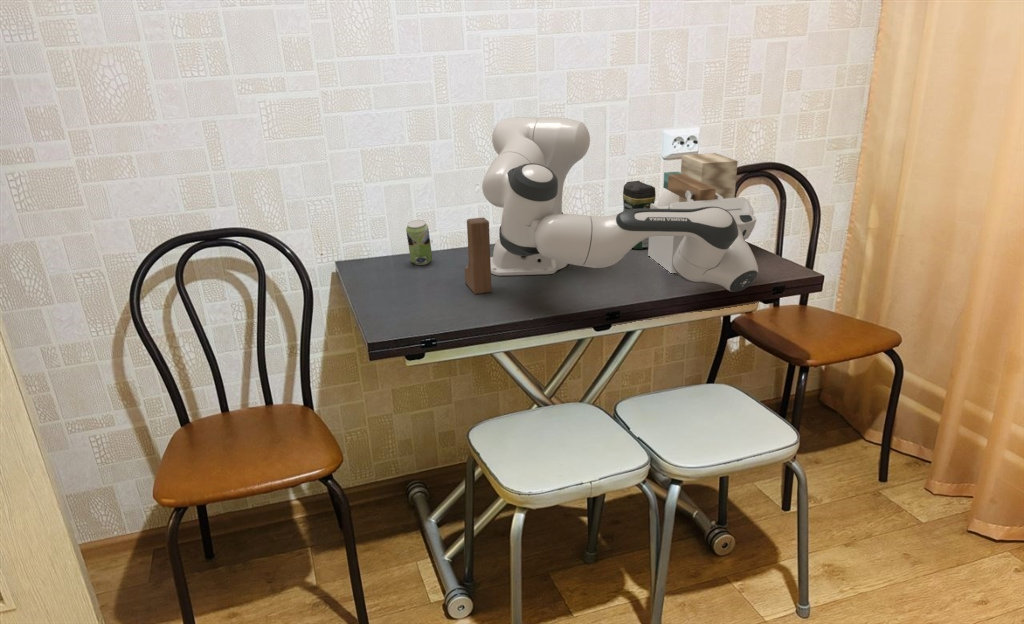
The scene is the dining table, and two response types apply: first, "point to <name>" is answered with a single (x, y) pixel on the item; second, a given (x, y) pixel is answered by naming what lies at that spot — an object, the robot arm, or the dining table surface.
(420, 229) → the beverage can
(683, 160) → the tall patterned box
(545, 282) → the dining table surface
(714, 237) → the robot arm
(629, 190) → the coffee jar
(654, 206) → the upright white box
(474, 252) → the wooden block
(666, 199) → the sauce bottle
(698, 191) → the brown rectangular block
